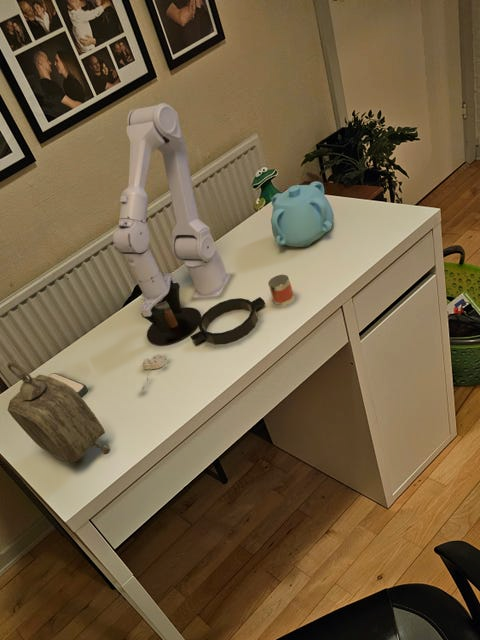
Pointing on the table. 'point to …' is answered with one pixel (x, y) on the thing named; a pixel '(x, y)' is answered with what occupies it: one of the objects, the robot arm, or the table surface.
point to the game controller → (154, 363)
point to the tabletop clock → (55, 416)
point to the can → (281, 290)
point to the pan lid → (175, 327)
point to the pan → (234, 333)
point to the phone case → (70, 383)
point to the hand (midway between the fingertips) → (172, 322)
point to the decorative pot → (301, 215)
